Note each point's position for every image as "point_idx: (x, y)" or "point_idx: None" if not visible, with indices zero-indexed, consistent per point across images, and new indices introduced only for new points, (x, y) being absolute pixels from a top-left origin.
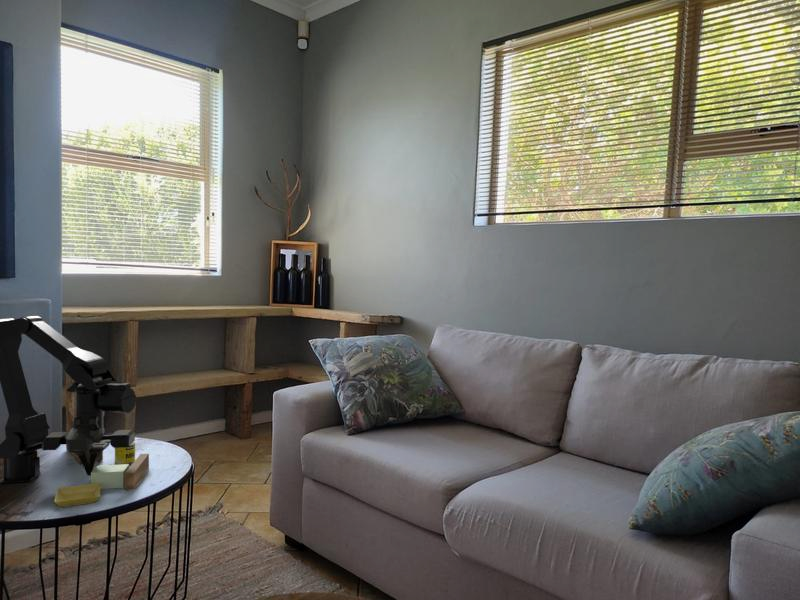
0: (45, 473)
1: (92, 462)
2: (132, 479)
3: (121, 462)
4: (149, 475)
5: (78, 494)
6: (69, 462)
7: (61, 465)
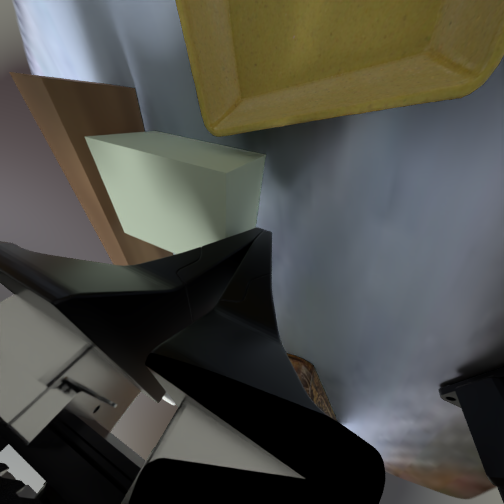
0: (420, 378)
1: (206, 251)
2: (60, 78)
3: None
4: None
5: (321, 54)
6: (337, 387)
7: (359, 387)
